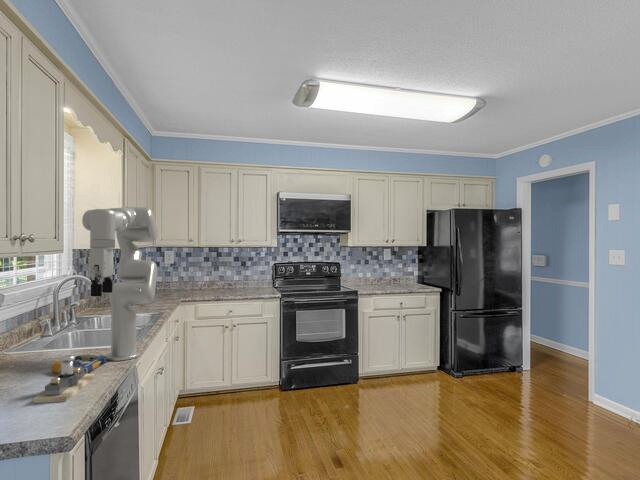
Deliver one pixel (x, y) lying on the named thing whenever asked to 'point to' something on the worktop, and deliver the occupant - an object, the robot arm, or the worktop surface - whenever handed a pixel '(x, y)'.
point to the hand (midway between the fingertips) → (102, 294)
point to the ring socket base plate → (63, 387)
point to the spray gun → (82, 363)
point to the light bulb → (67, 366)
